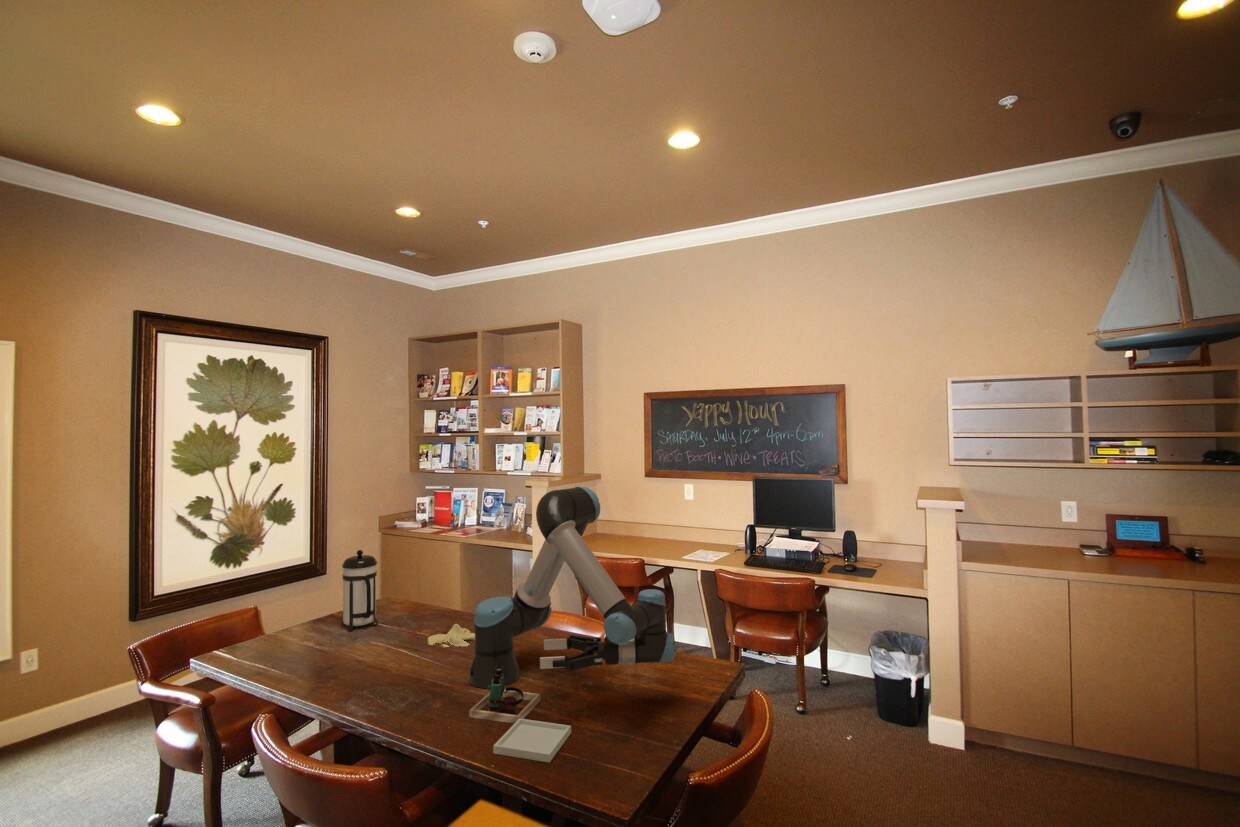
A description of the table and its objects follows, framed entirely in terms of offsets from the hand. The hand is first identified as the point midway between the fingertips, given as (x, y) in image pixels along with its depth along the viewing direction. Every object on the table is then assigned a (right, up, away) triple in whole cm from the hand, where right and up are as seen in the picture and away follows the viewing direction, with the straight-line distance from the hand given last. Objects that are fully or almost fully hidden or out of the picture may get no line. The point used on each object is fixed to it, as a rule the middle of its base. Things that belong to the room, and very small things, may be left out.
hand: (542, 653), depth 158 cm
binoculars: (-10, -15, -1) cm, 18 cm away
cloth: (-39, -18, +53) cm, 68 cm away
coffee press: (-82, -19, +70) cm, 109 cm away
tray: (0, -14, -18) cm, 23 cm away
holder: (-10, -15, -1) cm, 18 cm away
